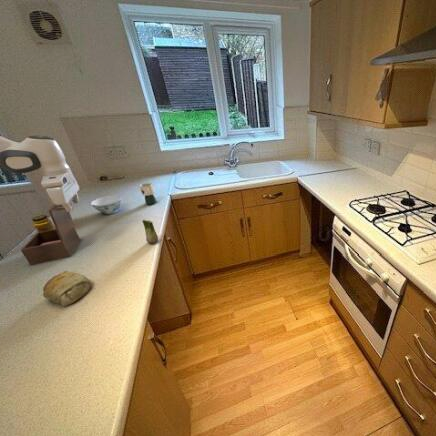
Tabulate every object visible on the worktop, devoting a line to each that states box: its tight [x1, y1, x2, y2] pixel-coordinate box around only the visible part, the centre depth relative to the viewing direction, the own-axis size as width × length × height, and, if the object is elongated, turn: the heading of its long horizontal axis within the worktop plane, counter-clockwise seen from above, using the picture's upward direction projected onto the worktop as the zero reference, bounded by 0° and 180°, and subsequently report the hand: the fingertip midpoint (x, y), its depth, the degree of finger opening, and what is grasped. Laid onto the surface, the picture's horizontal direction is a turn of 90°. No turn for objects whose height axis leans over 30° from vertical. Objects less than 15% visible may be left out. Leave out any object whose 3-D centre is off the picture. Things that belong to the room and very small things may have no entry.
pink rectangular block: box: [41, 240, 61, 245], centre depth 109 cm, size 7×4×4 cm, turn 115°
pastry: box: [42, 270, 91, 307], centre depth 85 cm, size 14×12×8 cm
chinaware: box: [90, 195, 123, 215], centre depth 145 cm, size 15×15×8 cm
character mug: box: [139, 182, 157, 205], centre depth 155 cm, size 11×7×13 cm, turn 37°
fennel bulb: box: [141, 219, 159, 245], centre depth 113 cm, size 6×5×12 cm
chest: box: [20, 225, 81, 266], centre depth 108 cm, size 14×16×8 cm
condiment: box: [31, 214, 56, 232], centre depth 118 cm, size 7×8×12 cm
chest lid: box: [48, 202, 75, 241], centre depth 106 cm, size 14×16×4 cm
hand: (73, 206), depth 106 cm, fingers open, 8 cm apart
